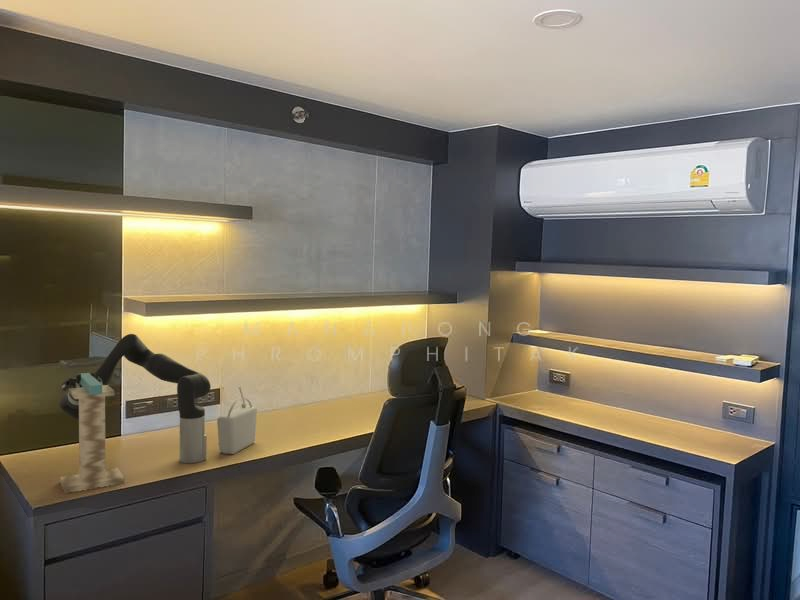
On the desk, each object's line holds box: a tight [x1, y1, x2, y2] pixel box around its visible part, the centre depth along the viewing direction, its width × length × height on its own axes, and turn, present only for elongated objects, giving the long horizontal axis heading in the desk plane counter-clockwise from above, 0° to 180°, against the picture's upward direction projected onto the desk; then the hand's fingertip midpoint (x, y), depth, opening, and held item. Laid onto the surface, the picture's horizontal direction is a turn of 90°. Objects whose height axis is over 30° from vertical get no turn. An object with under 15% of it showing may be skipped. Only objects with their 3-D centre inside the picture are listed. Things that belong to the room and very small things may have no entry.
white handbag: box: [216, 386, 258, 455], centre depth 249 cm, size 22×8×25 cm, turn 165°
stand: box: [59, 384, 125, 494], centre depth 206 cm, size 18×12×32 cm, turn 126°
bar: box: [80, 372, 102, 395], centre depth 208 cm, size 4×26×3 cm, turn 36°
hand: (86, 376), depth 214 cm, fingers closed on bar, 3 cm apart
